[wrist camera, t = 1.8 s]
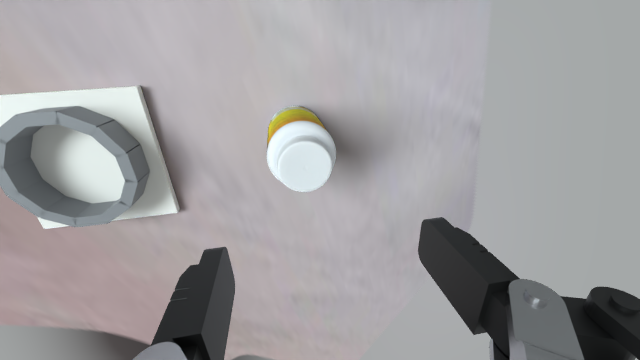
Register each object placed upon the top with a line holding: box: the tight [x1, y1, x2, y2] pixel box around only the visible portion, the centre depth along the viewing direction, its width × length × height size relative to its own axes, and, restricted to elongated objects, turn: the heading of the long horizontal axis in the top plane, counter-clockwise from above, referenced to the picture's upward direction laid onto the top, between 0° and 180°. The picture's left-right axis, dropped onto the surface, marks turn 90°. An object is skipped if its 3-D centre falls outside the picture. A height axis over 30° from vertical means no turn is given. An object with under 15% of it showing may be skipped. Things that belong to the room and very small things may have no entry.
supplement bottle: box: [267, 106, 336, 192], centre depth 23 cm, size 6×6×10 cm
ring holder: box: [0, 86, 180, 229], centre depth 24 cm, size 13×13×4 cm
